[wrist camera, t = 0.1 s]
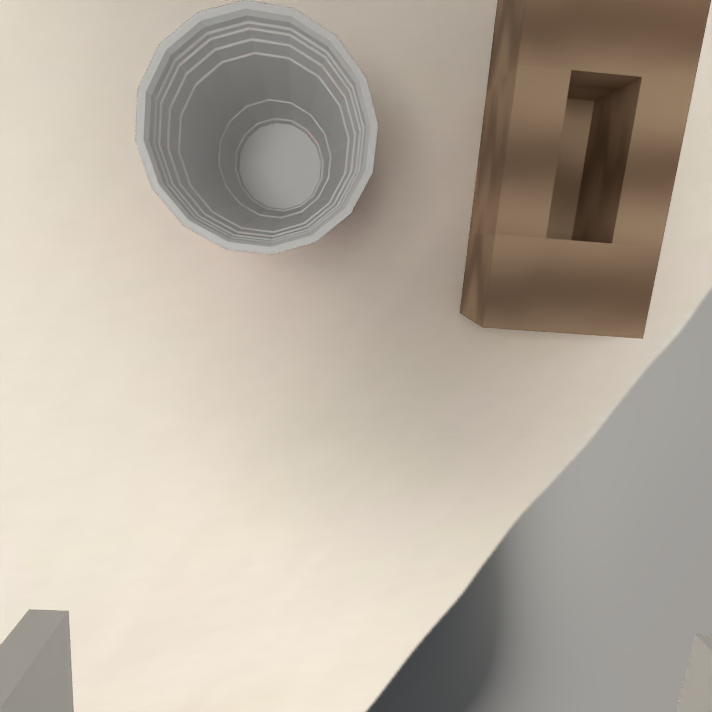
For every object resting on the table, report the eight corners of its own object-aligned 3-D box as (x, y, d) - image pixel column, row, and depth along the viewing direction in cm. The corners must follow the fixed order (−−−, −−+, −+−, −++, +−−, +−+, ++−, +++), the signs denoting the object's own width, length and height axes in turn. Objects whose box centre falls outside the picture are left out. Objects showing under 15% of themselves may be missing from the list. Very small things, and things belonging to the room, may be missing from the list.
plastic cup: (397, 155, 35) (429, 117, 24) (294, 280, 37) (277, 302, 25) (269, 36, 33) (234, -70, 22) (166, 173, 35) (82, 143, 23)
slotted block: (498, -2, 33) (532, -52, 28) (651, 14, 34) (717, -31, 28) (459, 312, 38) (482, 327, 32) (595, 322, 38) (642, 338, 33)
